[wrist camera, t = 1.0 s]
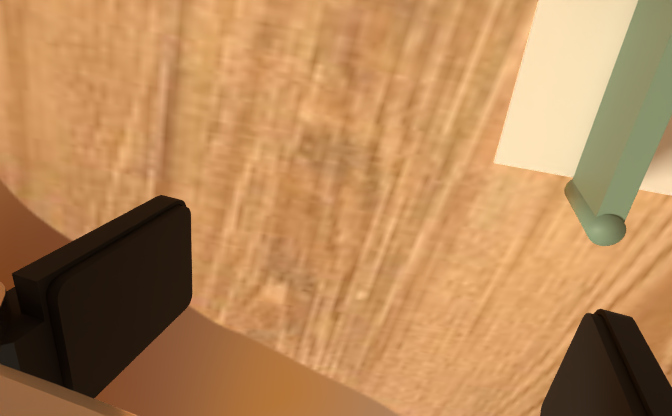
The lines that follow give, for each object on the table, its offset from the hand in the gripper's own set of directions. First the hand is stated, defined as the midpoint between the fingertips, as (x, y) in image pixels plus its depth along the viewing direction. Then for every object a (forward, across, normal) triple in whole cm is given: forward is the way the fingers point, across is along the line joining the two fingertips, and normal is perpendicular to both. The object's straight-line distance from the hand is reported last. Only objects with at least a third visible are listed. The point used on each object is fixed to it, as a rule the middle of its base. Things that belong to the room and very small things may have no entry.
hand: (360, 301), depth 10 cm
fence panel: (+18, -9, -4) cm, 21 cm away
